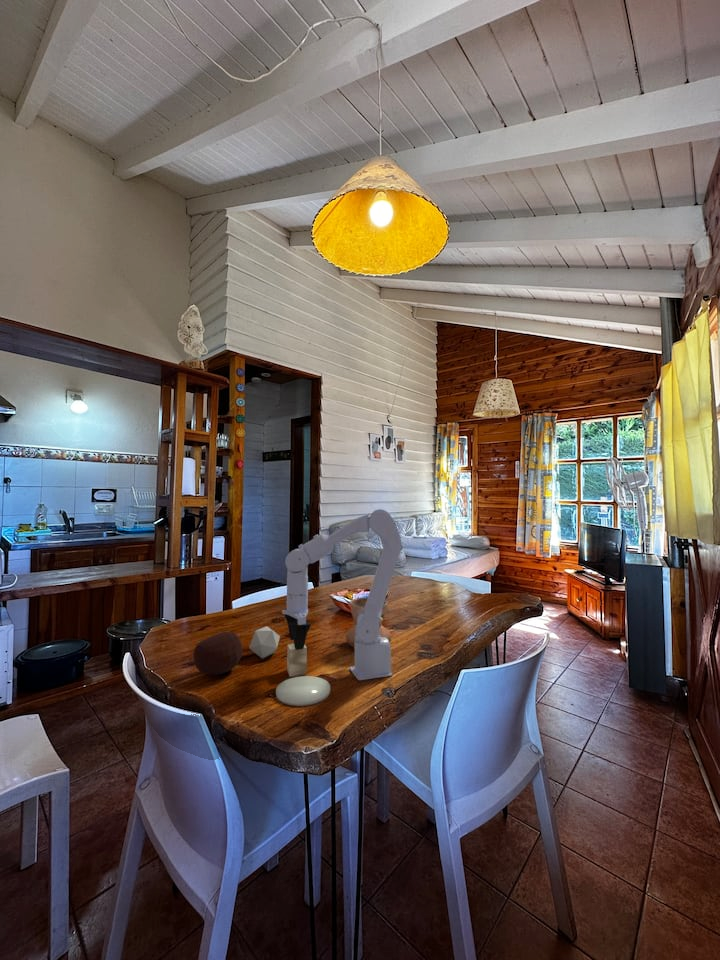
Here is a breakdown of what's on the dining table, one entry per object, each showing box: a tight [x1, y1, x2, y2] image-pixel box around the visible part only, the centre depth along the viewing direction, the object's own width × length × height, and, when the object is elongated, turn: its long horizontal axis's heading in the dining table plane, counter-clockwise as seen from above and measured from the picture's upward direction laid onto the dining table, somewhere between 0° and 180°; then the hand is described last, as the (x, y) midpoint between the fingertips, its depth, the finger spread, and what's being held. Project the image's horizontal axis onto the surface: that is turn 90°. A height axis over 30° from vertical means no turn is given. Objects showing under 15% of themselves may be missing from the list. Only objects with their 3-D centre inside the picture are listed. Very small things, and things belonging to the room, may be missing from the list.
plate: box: [275, 675, 331, 707], centre depth 97 cm, size 13×13×1 cm
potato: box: [192, 631, 243, 676], centre depth 108 cm, size 11×13×10 cm
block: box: [286, 642, 308, 678], centre depth 108 cm, size 4×4×7 cm
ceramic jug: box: [345, 596, 392, 649], centre depth 128 cm, size 18×14×14 cm
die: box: [248, 626, 281, 660], centre depth 120 cm, size 8×9×10 cm
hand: (296, 644), depth 109 cm, fingers open, 7 cm apart
